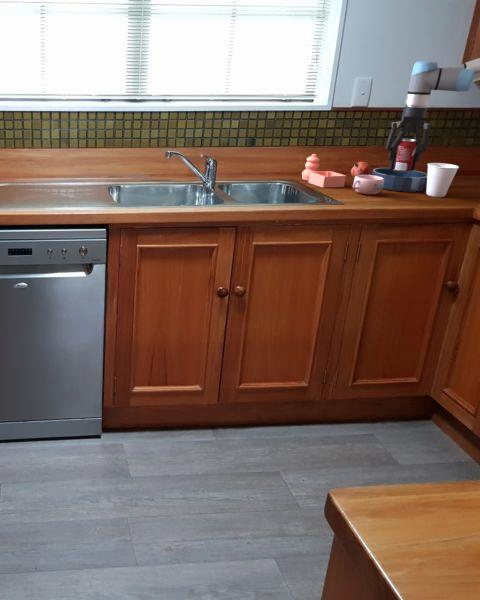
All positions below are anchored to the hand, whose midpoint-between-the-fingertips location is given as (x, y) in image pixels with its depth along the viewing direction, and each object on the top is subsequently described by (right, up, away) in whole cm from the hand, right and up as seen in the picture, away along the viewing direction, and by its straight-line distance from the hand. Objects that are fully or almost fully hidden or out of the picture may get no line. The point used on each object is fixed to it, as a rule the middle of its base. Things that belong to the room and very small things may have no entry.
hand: (401, 169), depth 232 cm
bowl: (0, -6, +3) cm, 7 cm away
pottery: (-29, -4, +7) cm, 30 cm away
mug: (-19, -11, -9) cm, 24 cm away
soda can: (0, -1, +1) cm, 1 cm away
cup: (+7, -12, -10) cm, 17 cm away
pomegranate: (-9, +2, +12) cm, 16 cm away
